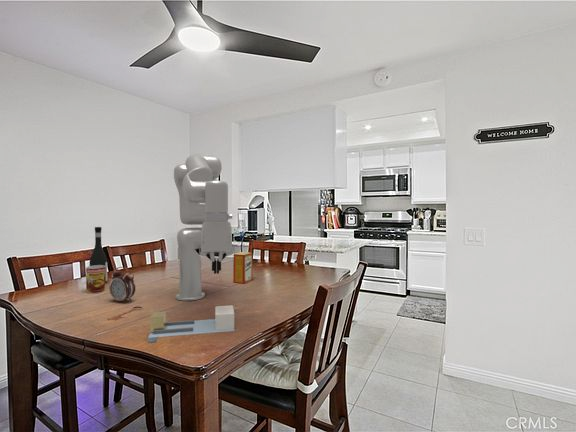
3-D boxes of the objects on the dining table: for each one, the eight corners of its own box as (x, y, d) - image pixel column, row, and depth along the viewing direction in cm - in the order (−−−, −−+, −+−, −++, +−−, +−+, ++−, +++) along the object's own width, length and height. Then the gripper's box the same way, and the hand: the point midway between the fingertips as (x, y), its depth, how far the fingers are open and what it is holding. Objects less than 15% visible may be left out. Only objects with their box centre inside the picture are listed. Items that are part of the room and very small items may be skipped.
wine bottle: (103, 281, 172) (102, 226, 171) (110, 283, 168) (109, 227, 167) (87, 284, 166) (86, 227, 165) (93, 286, 161) (93, 227, 160)
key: (116, 323, 113) (148, 310, 127) (116, 320, 113) (148, 308, 127) (104, 320, 115) (136, 307, 129) (104, 317, 115) (137, 305, 129)
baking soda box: (242, 279, 179) (242, 251, 179) (252, 280, 177) (252, 251, 177) (233, 282, 171) (233, 253, 170) (244, 284, 168) (244, 254, 168)
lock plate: (155, 327, 108) (155, 320, 107) (232, 321, 113) (232, 315, 113) (147, 342, 96) (147, 334, 96) (234, 335, 102) (234, 327, 102)
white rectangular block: (215, 320, 111) (215, 306, 110) (232, 319, 112) (232, 305, 112) (215, 330, 102) (215, 315, 102) (234, 328, 103) (234, 313, 103)
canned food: (87, 294, 146) (87, 268, 146) (84, 291, 152) (84, 266, 152) (107, 291, 152) (106, 266, 151) (103, 288, 158) (103, 264, 157)
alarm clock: (108, 301, 136) (108, 267, 135) (118, 298, 140) (117, 265, 140) (127, 304, 132) (127, 269, 132) (136, 301, 137) (136, 267, 136)
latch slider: (153, 326, 104) (153, 312, 104) (166, 325, 105) (165, 311, 105) (150, 332, 99) (150, 317, 99) (163, 331, 100) (163, 316, 100)
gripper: (238, 217, 110) (238, 270, 111) (194, 217, 107) (194, 271, 108) (239, 218, 103) (239, 274, 103) (192, 218, 100) (192, 276, 100)
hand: (216, 272), depth 106 cm, fingers closed
